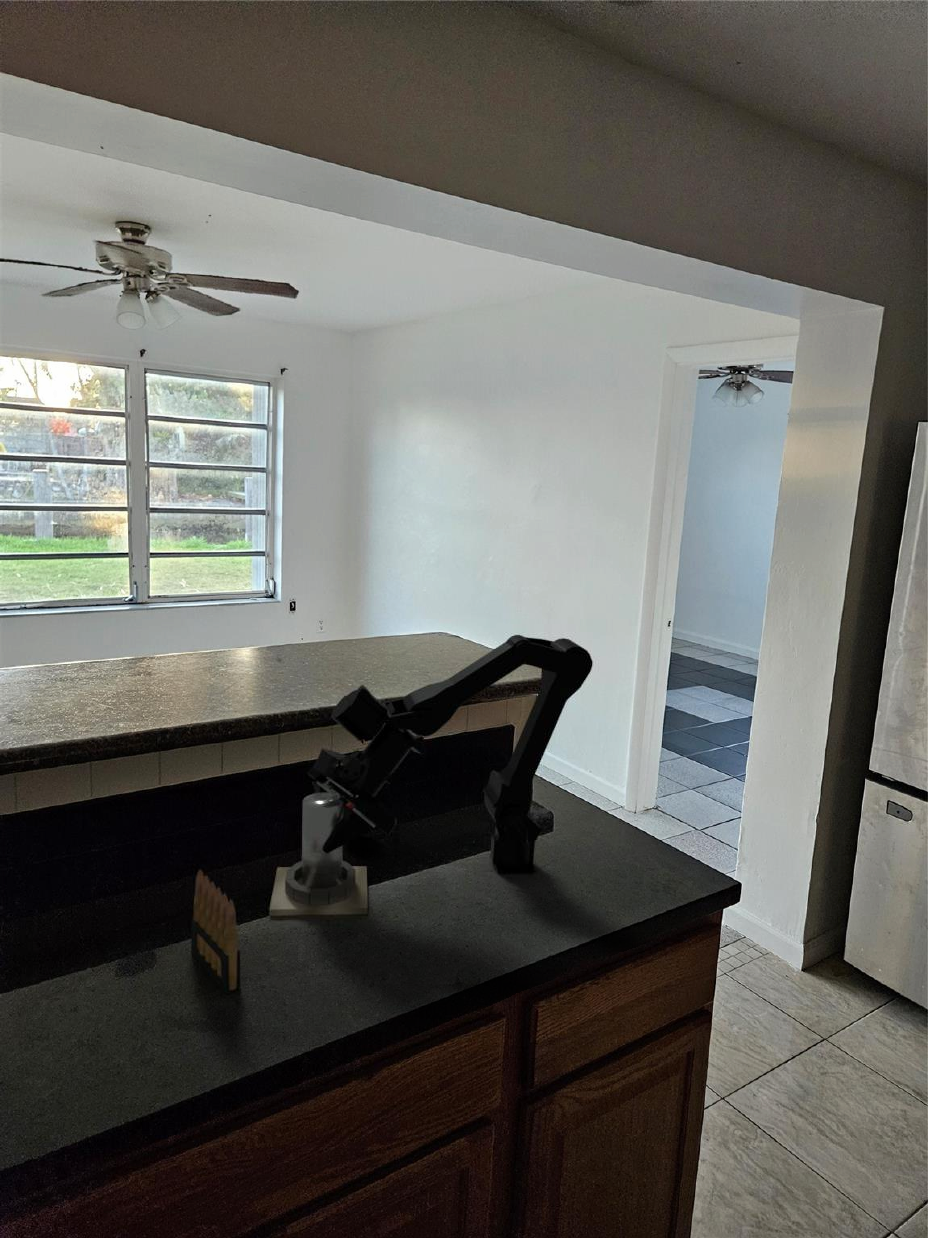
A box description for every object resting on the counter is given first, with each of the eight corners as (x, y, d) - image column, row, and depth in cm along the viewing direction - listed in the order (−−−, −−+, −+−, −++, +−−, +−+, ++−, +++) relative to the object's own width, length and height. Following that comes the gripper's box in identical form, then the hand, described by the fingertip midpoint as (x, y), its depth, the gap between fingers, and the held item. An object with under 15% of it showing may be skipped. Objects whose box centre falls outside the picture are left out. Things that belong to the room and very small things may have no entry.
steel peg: (342, 870, 123) (343, 792, 120) (341, 891, 117) (343, 809, 114) (303, 871, 122) (304, 792, 119) (300, 892, 116) (301, 809, 113)
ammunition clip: (241, 989, 97) (241, 901, 95) (226, 995, 96) (227, 906, 94) (204, 947, 105) (203, 864, 103) (190, 952, 104) (190, 869, 101)
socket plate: (366, 872, 126) (367, 854, 126) (367, 914, 115) (368, 895, 114) (277, 873, 124) (277, 855, 124) (269, 916, 113) (269, 897, 112)
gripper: (319, 713, 124) (252, 793, 120) (381, 749, 110) (308, 842, 105) (361, 751, 131) (299, 828, 126) (425, 790, 116) (358, 879, 112)
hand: (314, 842), depth 117 cm, fingers closed on steel peg, 6 cm apart
